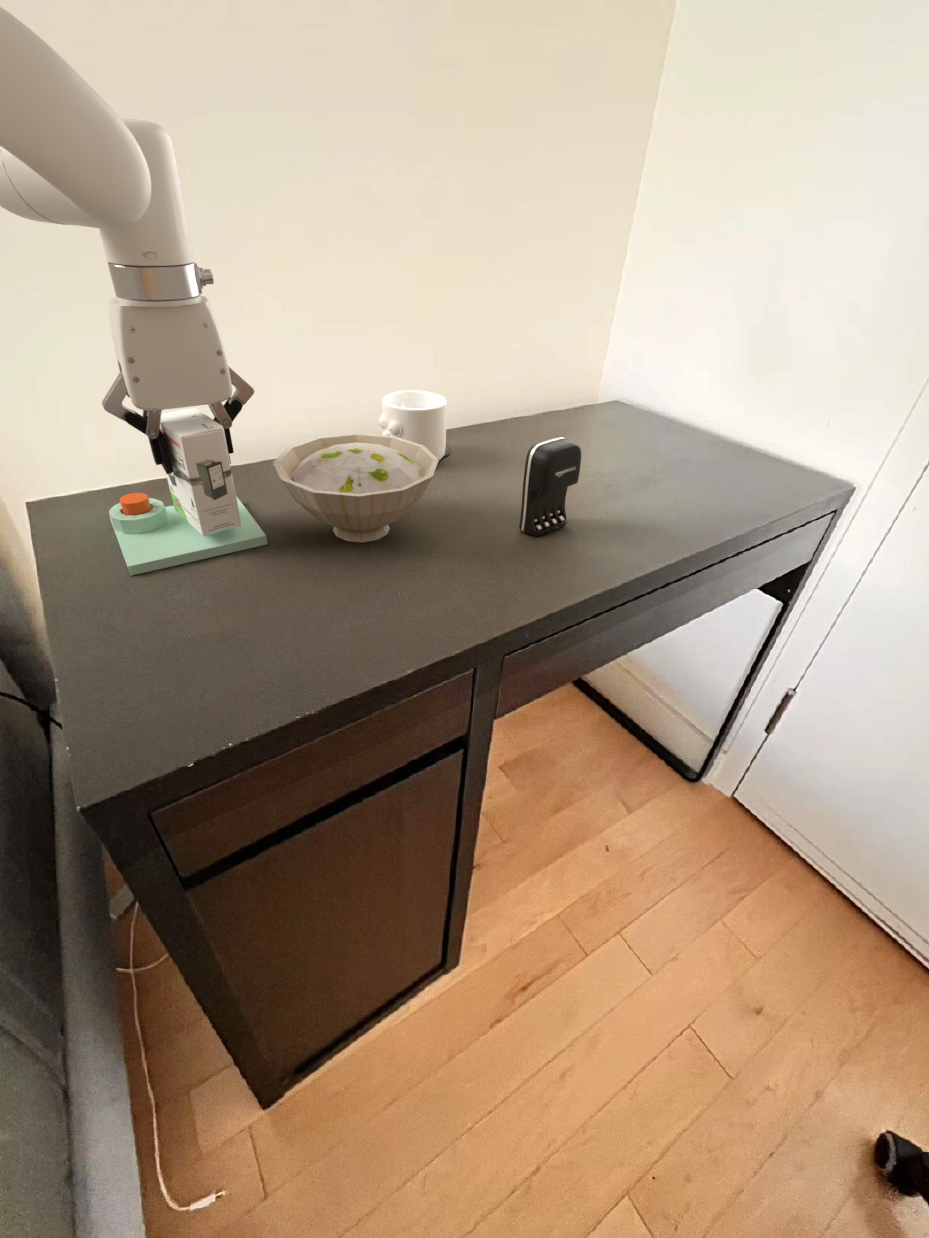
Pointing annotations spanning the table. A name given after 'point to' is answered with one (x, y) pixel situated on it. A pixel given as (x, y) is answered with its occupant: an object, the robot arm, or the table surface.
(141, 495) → the button
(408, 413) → the mug
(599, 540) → the table surface
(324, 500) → the bowl
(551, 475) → the battery charger
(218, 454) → the ink box
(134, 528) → the scale
